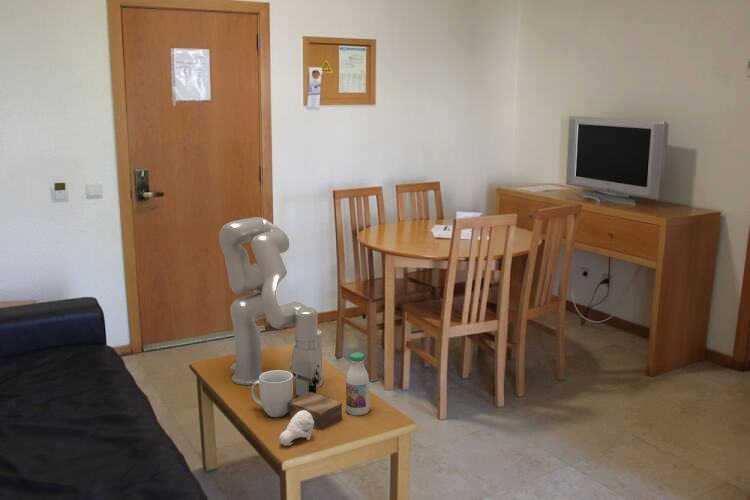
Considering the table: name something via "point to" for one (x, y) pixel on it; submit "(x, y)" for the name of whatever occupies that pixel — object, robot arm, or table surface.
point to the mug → (274, 392)
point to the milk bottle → (357, 386)
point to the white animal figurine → (298, 427)
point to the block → (302, 385)
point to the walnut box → (317, 409)
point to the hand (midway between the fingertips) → (306, 392)
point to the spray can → (319, 345)
